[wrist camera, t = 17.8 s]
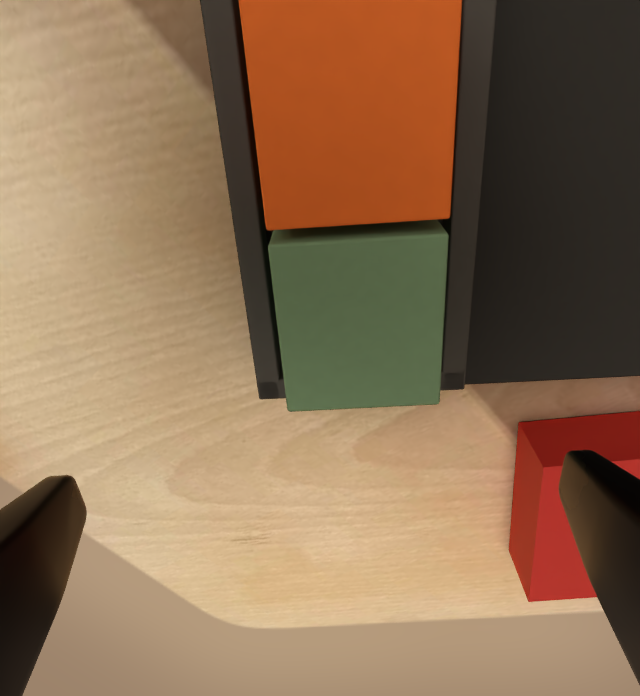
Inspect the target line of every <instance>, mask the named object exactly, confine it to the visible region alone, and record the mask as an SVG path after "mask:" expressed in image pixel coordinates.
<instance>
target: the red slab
mask: <svg viewBox="0 0 640 696" xmlns="http://www.w3.org/2000/svg"><path fill="white" fill-rule="evenodd" d="M572 450H592V451H594V452H596V453H598V454H600V455H601V456H603V457H604V458H606V459H608V460H609V461H611V462H613V463H614V464H616V465H617V466H619V467H621V468H622V469H624V470H626V471H627V472H629V473H630V474H632V475H634V476H635V477H637V478H639V479H640V411H636V412H625V413H614V414H604V415H593V416H582V417H571V418H561V419H550V420H539V421H528V422H519V423H518V436H517V449H516V463H515V476H514V489H513V502H512V516H511V529H510V542H509V552H510V555H511V557H512V560H513V562H514V565H515V568H516V570H517V573H518V575H519V578H520V581H521V583H522V586H523V589H524V591H525V594H526V596H527V599H528V602H532V601H547V600H562V599H576V598H591V597H597V595H596V593H595V591H594V589H593V586H592V584H591V582H590V580H589V577H588V575H587V572H586V570H585V567H584V564H583V562H582V559H581V556H580V553H579V550H578V547H577V545H576V542H575V539H574V536H573V533H572V530H571V528H570V525H569V522H568V519H567V516H566V514H565V511H564V508H563V505H562V502H561V499H560V496H559V481H560V476H561V471H562V467H563V462H564V458H565V455H566V453H567V452H569V451H572Z"/></svg>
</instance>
